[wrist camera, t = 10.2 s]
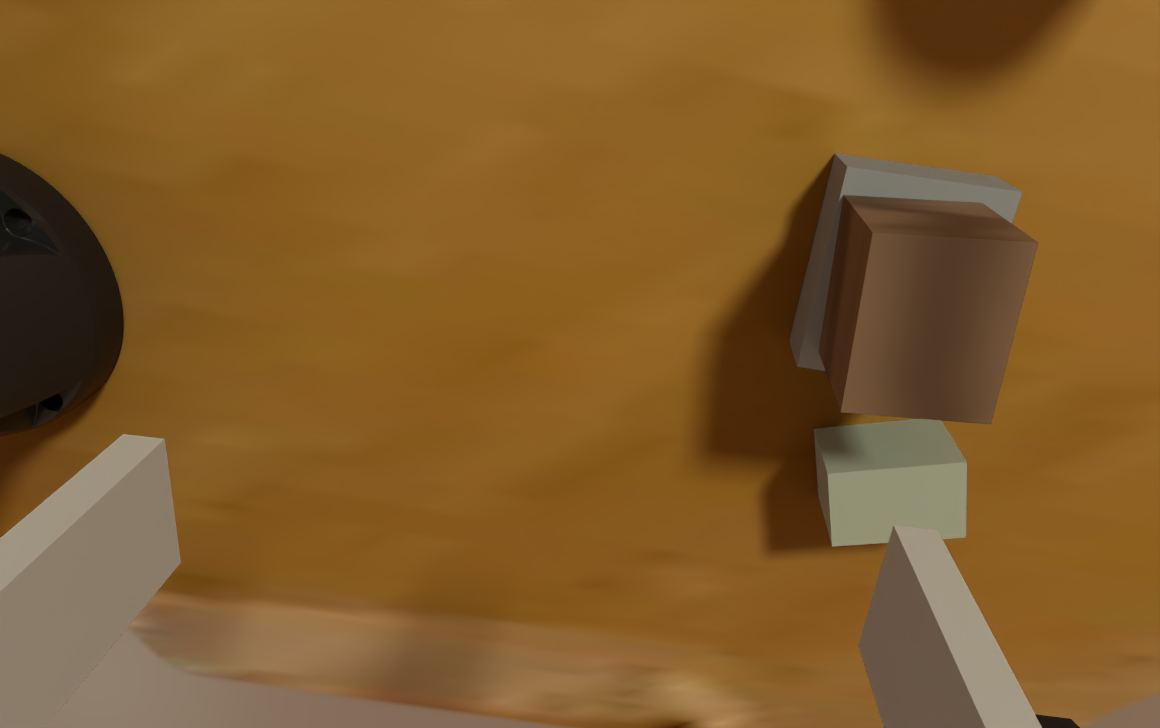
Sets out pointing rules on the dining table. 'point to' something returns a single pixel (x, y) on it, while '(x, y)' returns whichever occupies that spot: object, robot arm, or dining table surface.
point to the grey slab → (878, 182)
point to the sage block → (890, 480)
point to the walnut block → (922, 307)
